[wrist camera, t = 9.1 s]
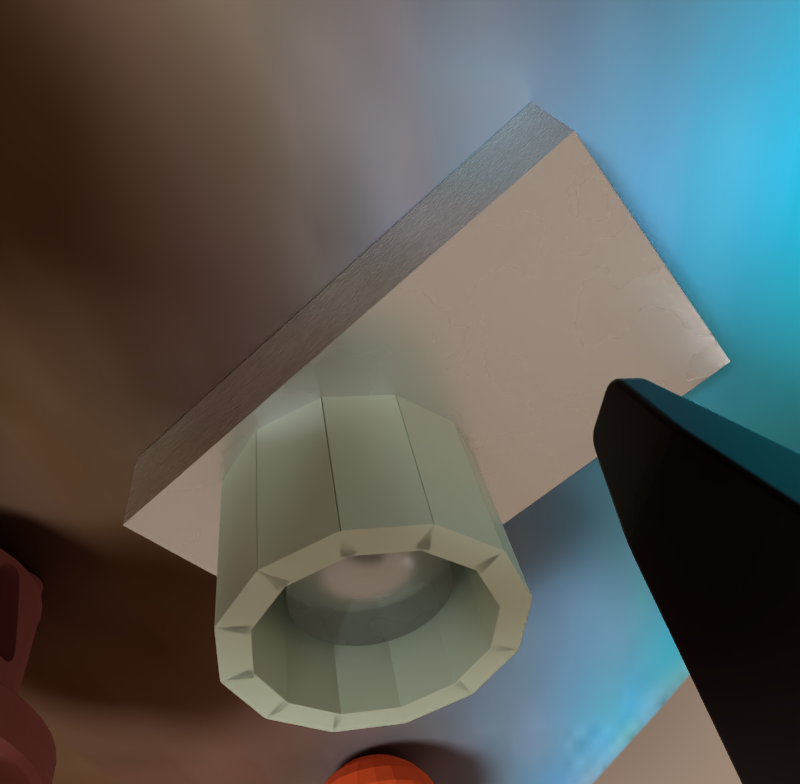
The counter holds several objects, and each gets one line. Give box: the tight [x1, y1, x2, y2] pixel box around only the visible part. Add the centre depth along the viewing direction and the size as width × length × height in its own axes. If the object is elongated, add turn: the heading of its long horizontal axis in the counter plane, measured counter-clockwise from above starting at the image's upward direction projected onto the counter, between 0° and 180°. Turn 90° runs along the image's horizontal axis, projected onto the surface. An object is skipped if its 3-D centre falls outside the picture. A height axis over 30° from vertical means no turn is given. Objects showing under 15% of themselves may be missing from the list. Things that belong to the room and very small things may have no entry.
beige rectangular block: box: [123, 102, 731, 646], centre depth 20 cm, size 9×16×6 cm, turn 131°
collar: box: [214, 395, 533, 732], centre depth 19 cm, size 8×8×5 cm
